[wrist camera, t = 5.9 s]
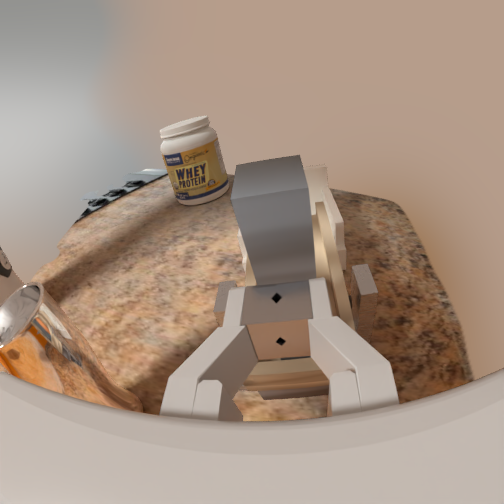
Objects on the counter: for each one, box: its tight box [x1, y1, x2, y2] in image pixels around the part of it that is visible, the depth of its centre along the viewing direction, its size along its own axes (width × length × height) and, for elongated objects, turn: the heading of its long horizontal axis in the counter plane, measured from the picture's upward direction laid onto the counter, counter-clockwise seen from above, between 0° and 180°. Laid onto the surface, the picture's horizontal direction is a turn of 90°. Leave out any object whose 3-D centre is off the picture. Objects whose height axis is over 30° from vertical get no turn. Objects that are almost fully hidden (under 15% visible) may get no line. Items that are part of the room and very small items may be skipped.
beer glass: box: [0, 282, 144, 413], centre depth 17 cm, size 7×7×15 cm
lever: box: [230, 155, 356, 400], centre depth 18 cm, size 16×8×16 cm, turn 176°
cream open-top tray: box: [237, 165, 346, 274], centre depth 35 cm, size 12×12×9 cm
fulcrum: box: [213, 264, 378, 390], centre depth 21 cm, size 6×12×9 cm, turn 86°
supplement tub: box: [160, 116, 229, 205], centre depth 56 cm, size 12×12×17 cm
